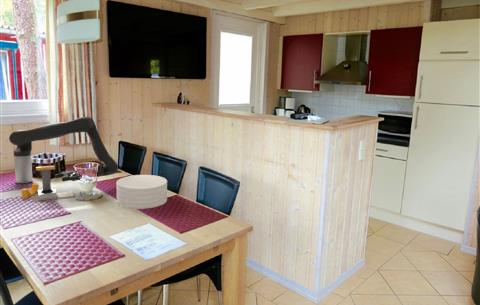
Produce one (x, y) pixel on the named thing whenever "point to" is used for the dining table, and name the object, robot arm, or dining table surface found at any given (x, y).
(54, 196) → the white flat block
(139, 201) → the plate stack
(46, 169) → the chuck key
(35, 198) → the pale flat board
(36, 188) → the orange irregular block
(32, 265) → the dining table surface
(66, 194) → the rest pad
